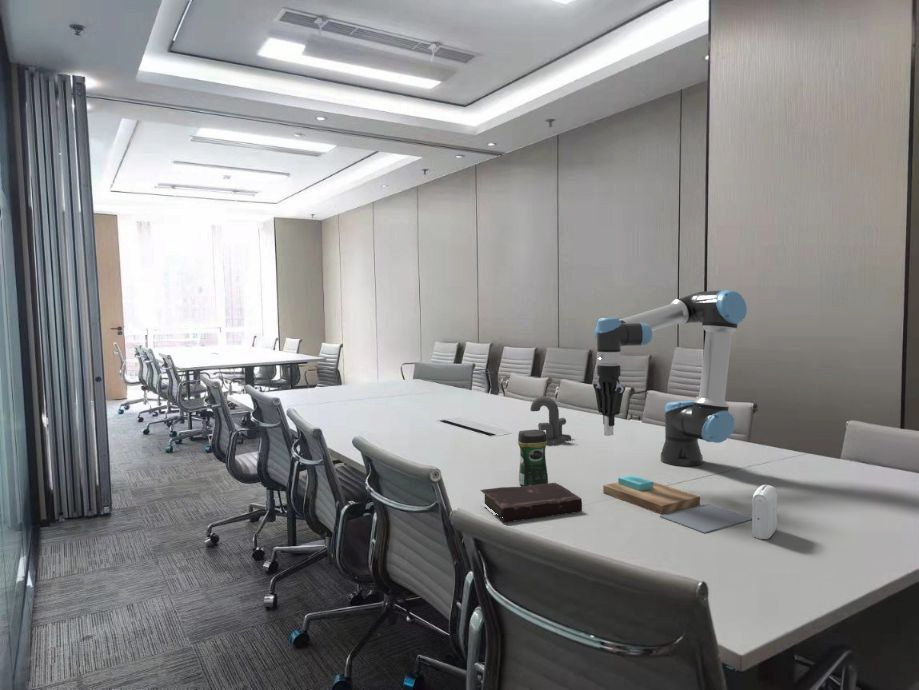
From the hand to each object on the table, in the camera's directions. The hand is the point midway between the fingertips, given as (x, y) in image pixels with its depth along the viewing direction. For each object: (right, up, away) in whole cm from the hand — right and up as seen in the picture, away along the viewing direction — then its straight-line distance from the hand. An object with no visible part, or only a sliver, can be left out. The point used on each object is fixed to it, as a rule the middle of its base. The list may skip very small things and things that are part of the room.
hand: (608, 435), depth 200 cm
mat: (+19, -18, -33) cm, 42 cm away
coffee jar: (-25, -17, +3) cm, 30 cm away
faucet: (-10, -13, +72) cm, 74 cm away
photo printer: (+29, -19, -45) cm, 57 cm away
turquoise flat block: (+6, -15, -10) cm, 19 cm away
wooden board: (+9, -17, -15) cm, 24 cm away
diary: (-29, -19, -21) cm, 40 cm away
